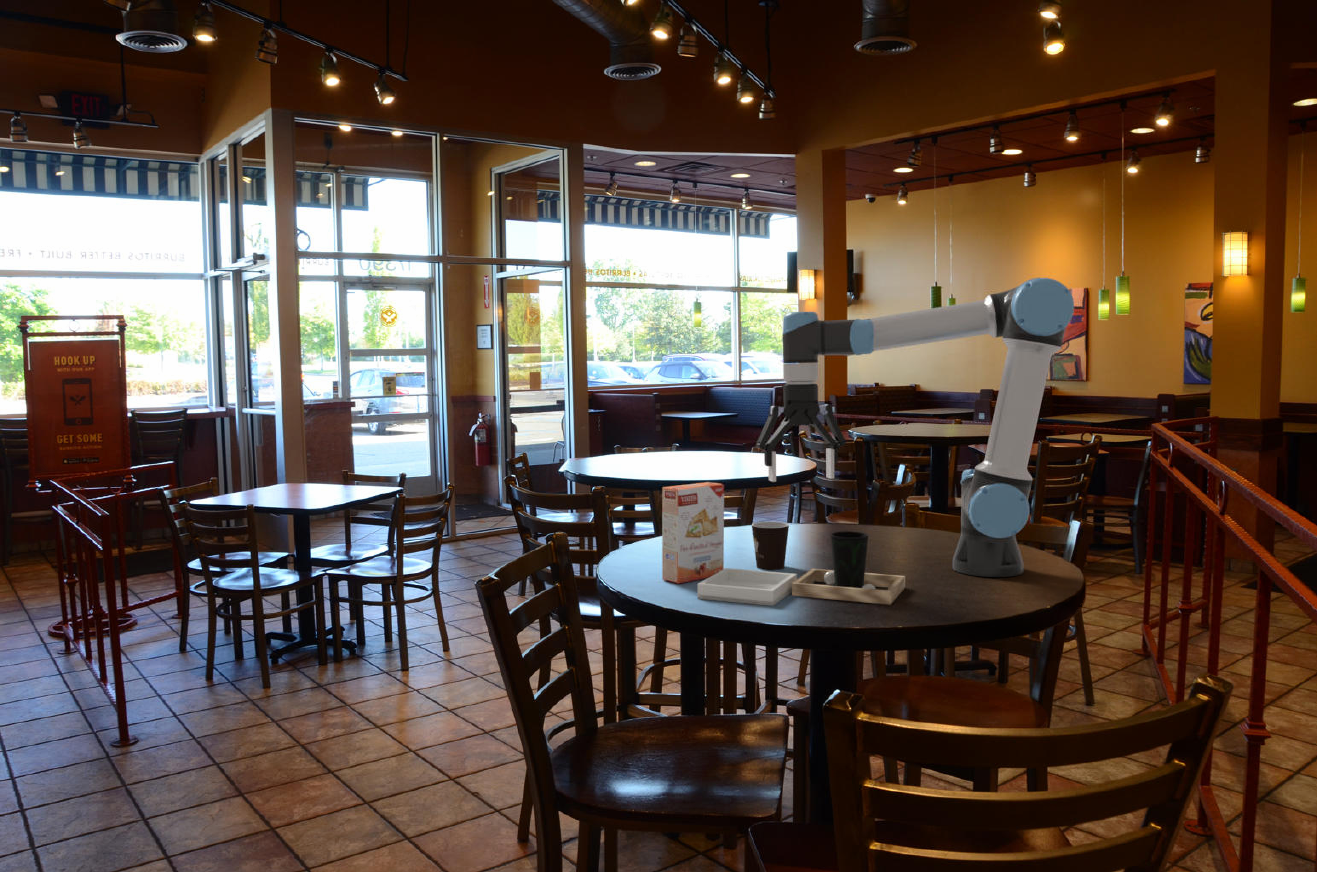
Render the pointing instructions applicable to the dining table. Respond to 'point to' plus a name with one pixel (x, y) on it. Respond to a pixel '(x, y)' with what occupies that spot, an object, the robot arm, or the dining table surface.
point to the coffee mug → (770, 544)
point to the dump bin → (747, 586)
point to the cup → (849, 558)
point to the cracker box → (692, 531)
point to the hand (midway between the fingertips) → (801, 479)
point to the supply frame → (850, 588)
